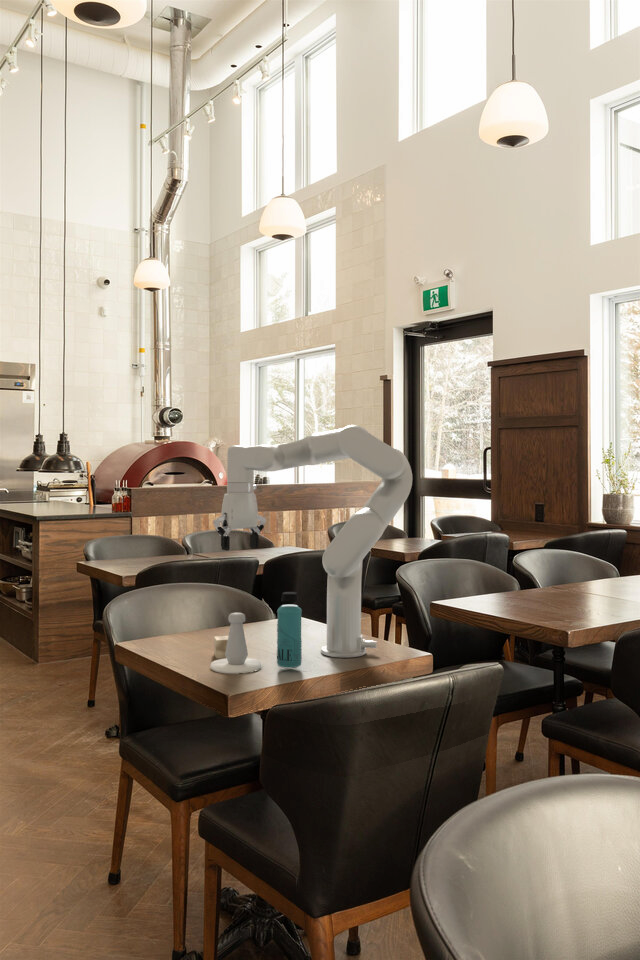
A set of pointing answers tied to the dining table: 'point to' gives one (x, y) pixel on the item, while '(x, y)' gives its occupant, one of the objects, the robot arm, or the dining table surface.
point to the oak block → (220, 646)
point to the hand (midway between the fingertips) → (240, 549)
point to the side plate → (235, 666)
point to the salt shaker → (236, 640)
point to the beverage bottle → (289, 632)
